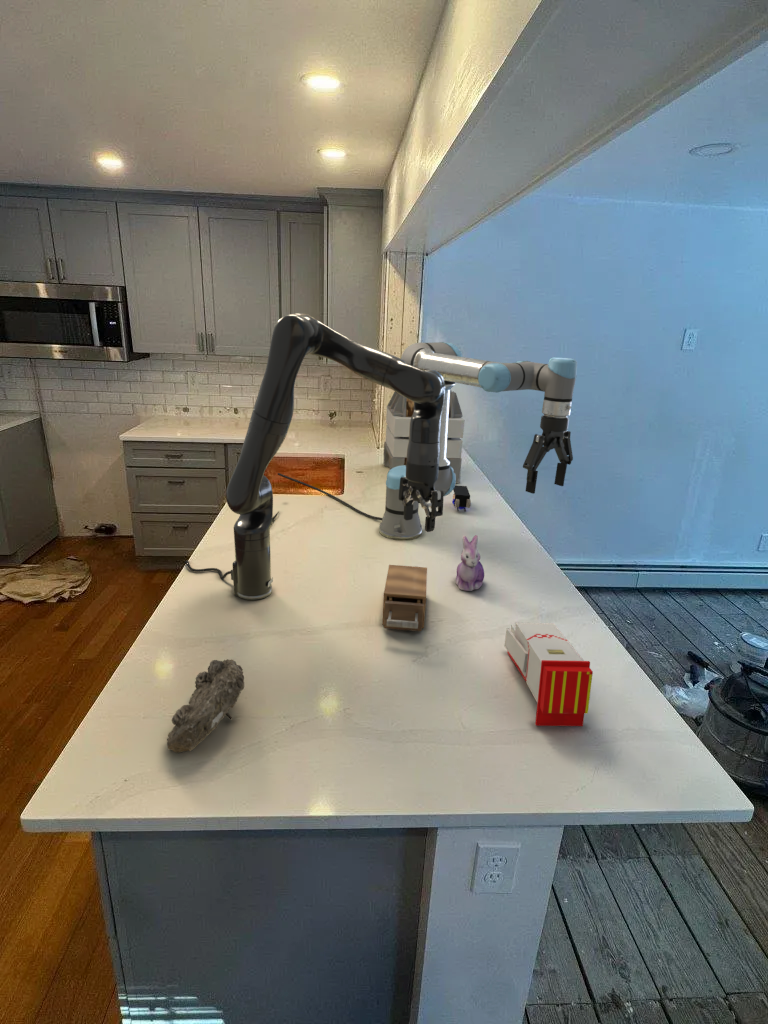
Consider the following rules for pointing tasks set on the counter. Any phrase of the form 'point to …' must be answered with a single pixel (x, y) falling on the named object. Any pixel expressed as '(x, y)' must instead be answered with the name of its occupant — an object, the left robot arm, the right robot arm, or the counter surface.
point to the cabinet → (406, 585)
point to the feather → (274, 518)
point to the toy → (551, 672)
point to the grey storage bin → (399, 432)
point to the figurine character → (461, 497)
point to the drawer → (403, 614)
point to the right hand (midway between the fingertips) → (544, 488)
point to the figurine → (470, 566)
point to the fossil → (206, 705)
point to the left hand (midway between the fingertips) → (418, 525)
